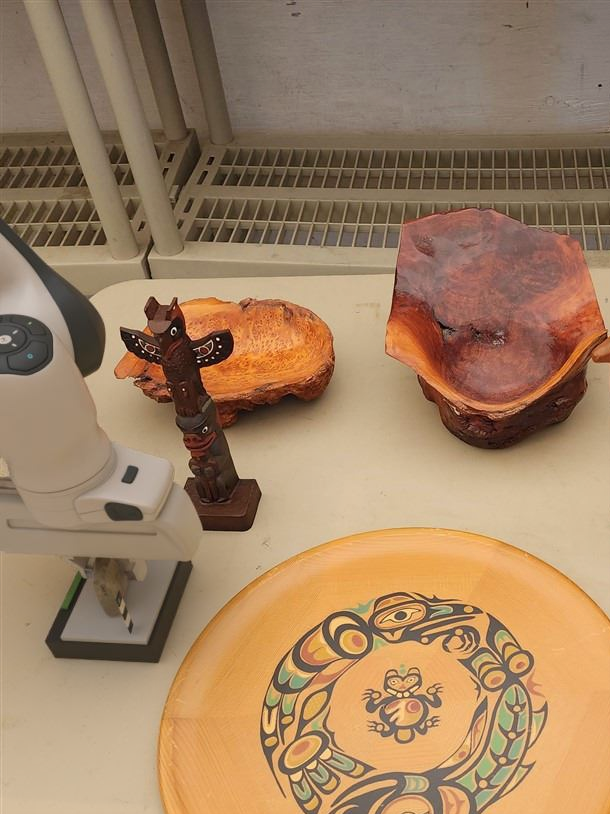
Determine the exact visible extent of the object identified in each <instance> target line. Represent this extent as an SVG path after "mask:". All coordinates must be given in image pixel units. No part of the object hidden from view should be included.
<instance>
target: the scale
mask: <svg viewBox="0 0 610 814" xmlns="http://www.w3.org/2000/svg"><path fill="white" fill-rule="evenodd" d="M144 561H145V563H146V566H147V573H146V576H145V578H144V580H143V581H135V580H128V585H127V588H126V591H125V595H124V598H123V601H124V603H125V605H126V608H127V610H128V613H129V615H130V618H131V620H132V622H133V628H132V632H131V634H130V632H129V630H128V628H127V625H126V623H125V621H124V618H123V616H122V613H121V611H120V613H119V614H117V615H107V614H106V613H105V612H104V610H103V608H102V607H101V605H100V604H99V601H98V599H97V596H96V594H95V591H94V589H93V584H92V578H83V577H82V575H81V573H80V571H79V569H77V571H76V574H75V577H74V579H73V580H72V582H71V584H70V587H69V589H68V591H67V593H66V595H65V597H64V599H63V602H62V604H61V606H60V608H59V610H58V612H57V615H56V616H55V618H54V621H53V623H52V625H51V627H50V629H49V631H48V633H47V636H46V637H45V640H44V643H45V645H46V646H47V647H48V649H49V651H50V653H51V655H52V656H53V657H54V658H56V659H57V658H58V659H73V660H74V659H76V660H94V661H96V660H97V661H112V662H113V661H115V662H137V663H153V664H154V663H156V664H157V663H158V664H159V661H160V658H161V656H162V653H163V650H164V647H165V645H166V642H167V639H168V636H169V635H170V631H171V628H172V625H173V623H174V620H175V617H176V615H177V612H178V608H179V606H180V603H181V600H182V597H183V595H184V592H185V589H186V587H187V584H188V581H189V578H190V575H191V572H192V569H193V566H194V563H193V561H192V559H191V560H190V561H167V560H144Z"/></svg>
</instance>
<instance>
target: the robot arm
mask: <svg viewBox="0 0 610 814" xmlns="http://www.w3.org/2000/svg"><path fill="white" fill-rule="evenodd" d="M106 332H107V331H106V326H105V322H104V319H103V317H102V315H101V314H100V312H99V311H98V309H97V308H96V306H95V305H94V304H93V303H92V302H91V300H90V299H88V298H87V297H86V295H84V294H83V293H82V292H81V291H80V290H79V289H78V288H77V287H76V286H74V285H73V284H72V283H71V282H70V281H68V280H67V279H66V278H64V277H63V276H62V275H61V274H59V273H58V272H57V271H56V270H55V269H53V268H52V267H51V266H50V265H49V264H48V263H46V262H45V260H43V258H41V257H40V256H39V255H38V254H37V252H35V250H33V248H32V247H31V246H30V245H29V244H28V243H27V242H26V241H25V240H24V239H23V238H22V237H21V236H20V235H19V234H18V233H17V232H16V231H15V230H14V228H12V227H11V225H9V223H8V222H6V221H5V220H4V219H3V217H2V216H0V458H1V459H2V460H3V461H4V462H5V464H6V467H7V472H8V476H0V551H1V552H3V553H5V554H13V555H34V556H35V555H36V556H59V557H60V559H61V560H62V561H64V562H65V563H67V564H68V565H70V566H72V567H73V568H75V569H76V570H79V571H80V573H81V575H82V577H83V578H92V576H93V568H94V563H95V557H100V558H122V559H129V561H128V565H127V566H126V568H125V570H124V572H125V574H126V576H128V577H127V578H128V580H135V581H143V580H144V578H145V576H146V573H147V566H146V563H145V561H144V560H167V561H190V560H191V561H192V560H193V558H194V557H195V556H196V554H197V553H198V551H199V548H200V546H201V543H202V540H203V536H204V529H203V525H202V522H201V519H200V516H199V514H198V511H197V509H196V507H195V505H194V502H193V501H192V499H191V497H190V495H189V494H188V493H187V491H186V489H184V488H183V487H182V485H180V484H178V483H177V482H174V478H175V474H176V469H175V466H174V464H173V462H172V461H170V459H168V458H165V457H162V456H157V455H155V454H154V455H153V454H151V453H147V452H144V451H140V450H136V449H134V448H130V447H128V446H125V445H123V444H121V443H118V442H116V441H114V440H110V437H109V435H108V434H107V433H106V431H105V430H104V429H103V428H102V426H100V424H99V423H98V411H97V406H96V404H95V401H94V398H93V396H92V394H91V391H90V389H89V387H88V385H87V382H86V380H85V378H87V377H89V376H91V375H92V374H94V373H96V372H98V370H99V369H100V368H101V367H102V363H103V359H104V356H105V351H106V342H107V341H106V339H107V336H106V335H107V333H106Z"/></svg>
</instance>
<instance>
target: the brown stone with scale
mask: <svg viewBox="0 0 610 814" xmlns="http://www.w3.org/2000/svg"><path fill="white" fill-rule="evenodd" d="M128 561H129V559H122V558H100V557H95V563H94V568H93V576H92V584H93V589H94V591H95V594H96V596H97V599H98V601H99V604H100V605H101V607H102V608H103V610H104V612H105V613H106V614H107V615H117V614H119V613H120V611H121V613H122V616H123V618H124V621H125V623H126V625H127V628H128V630H129V632H130V634H131V632H132V628H133V622H132V620H131V618H130V615H129V613H128V610H127V608H126V605H125V603H124V601H123V598H124V595H125V591H126V588H127V585H128V578H127V577H128V576H126V574H125V572H124V570H125V568H126V566H127V565H128Z"/></svg>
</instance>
